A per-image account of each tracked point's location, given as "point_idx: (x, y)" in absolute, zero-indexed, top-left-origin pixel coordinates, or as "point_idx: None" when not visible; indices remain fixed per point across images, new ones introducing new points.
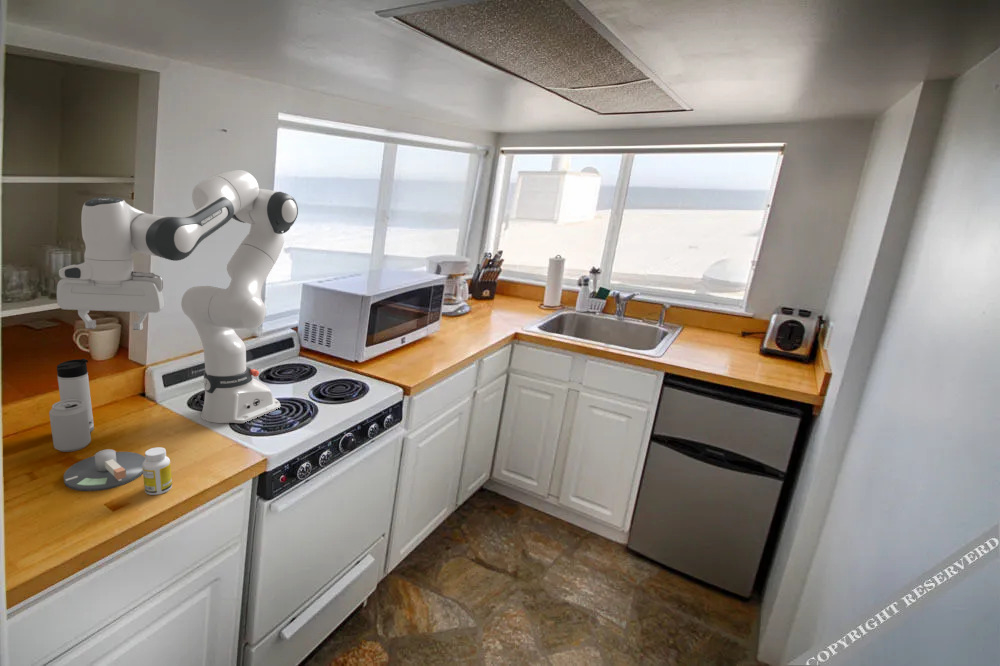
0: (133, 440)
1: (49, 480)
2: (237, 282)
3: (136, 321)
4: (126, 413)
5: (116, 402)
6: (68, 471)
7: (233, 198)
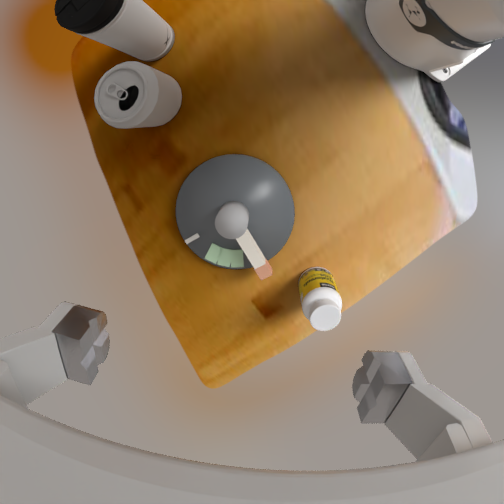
0: (254, 92)
1: (160, 217)
2: None
3: (390, 387)
4: None
5: None
6: (179, 212)
7: None
